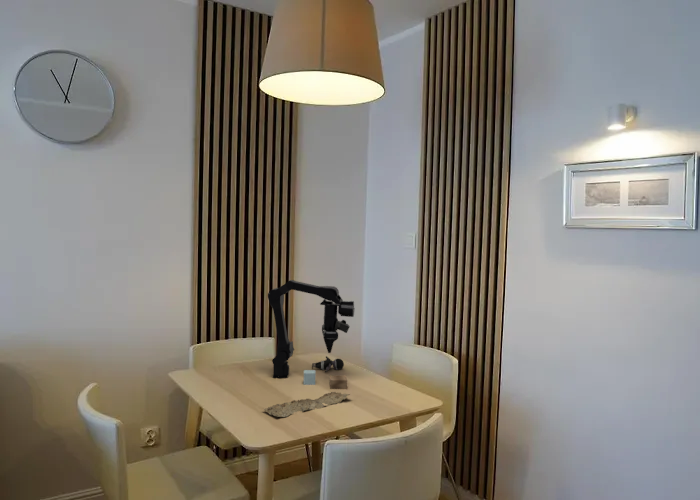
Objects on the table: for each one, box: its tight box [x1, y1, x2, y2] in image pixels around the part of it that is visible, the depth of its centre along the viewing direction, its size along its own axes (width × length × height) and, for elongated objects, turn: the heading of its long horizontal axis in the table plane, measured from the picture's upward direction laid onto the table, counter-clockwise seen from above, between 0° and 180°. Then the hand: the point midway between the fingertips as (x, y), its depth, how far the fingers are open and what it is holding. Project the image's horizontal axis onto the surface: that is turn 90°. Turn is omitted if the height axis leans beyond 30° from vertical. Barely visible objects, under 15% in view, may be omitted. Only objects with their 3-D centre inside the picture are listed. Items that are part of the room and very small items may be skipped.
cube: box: [303, 369, 317, 386], centre depth 225 cm, size 5×5×5 cm
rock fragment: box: [262, 391, 351, 418], centre depth 196 cm, size 34×10×3 cm, turn 131°
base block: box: [329, 374, 348, 390], centre depth 221 cm, size 7×7×4 cm
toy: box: [311, 355, 345, 373], centre depth 248 cm, size 16×5×15 cm
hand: (328, 350), depth 231 cm, fingers open, 9 cm apart
